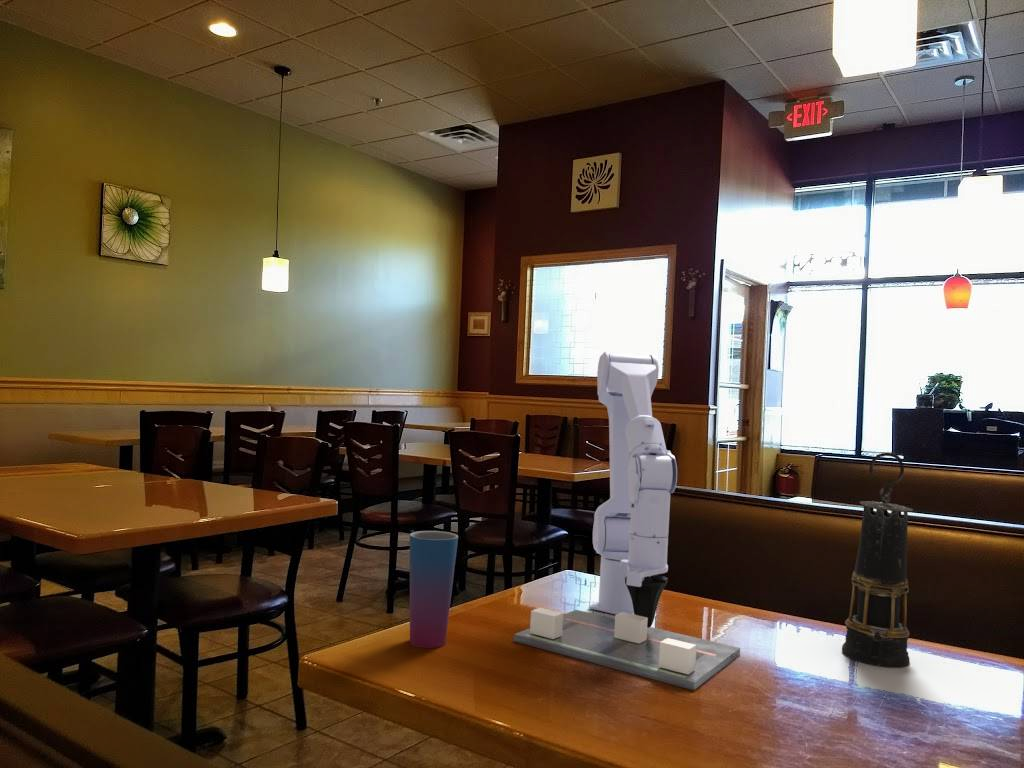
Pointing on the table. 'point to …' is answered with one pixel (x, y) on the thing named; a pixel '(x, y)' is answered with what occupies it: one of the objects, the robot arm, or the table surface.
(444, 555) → the cup
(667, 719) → the table surface
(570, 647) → the panel
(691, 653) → the block
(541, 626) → the breaker
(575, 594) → the table surface
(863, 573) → the lantern
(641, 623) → the breaker mid
